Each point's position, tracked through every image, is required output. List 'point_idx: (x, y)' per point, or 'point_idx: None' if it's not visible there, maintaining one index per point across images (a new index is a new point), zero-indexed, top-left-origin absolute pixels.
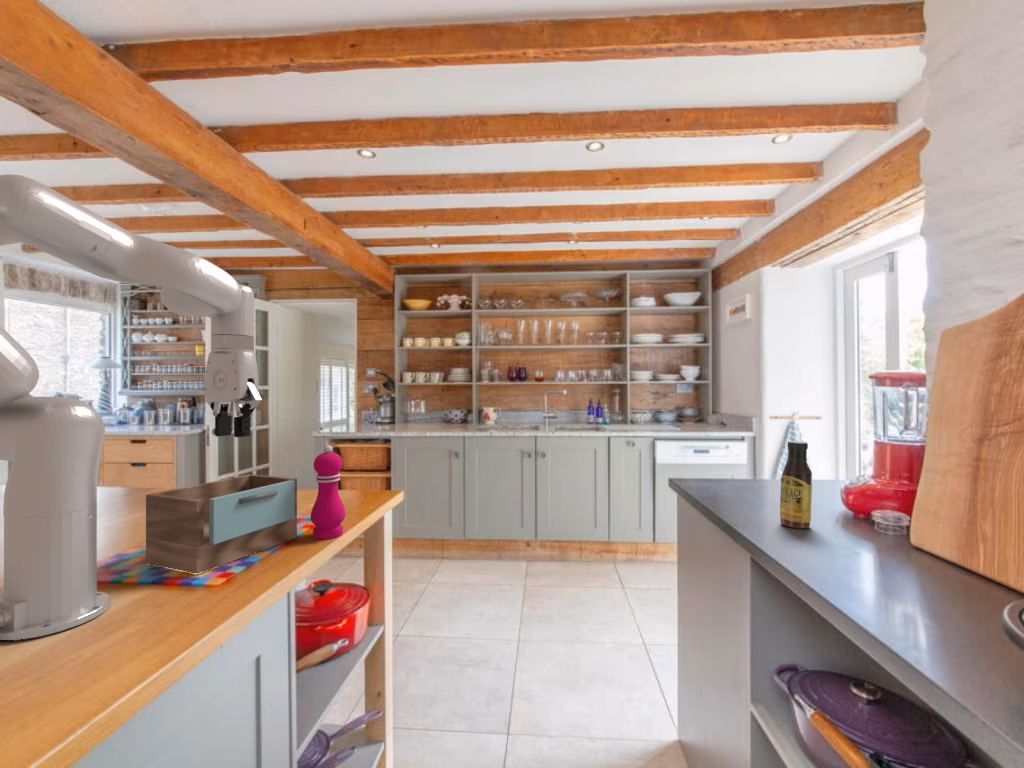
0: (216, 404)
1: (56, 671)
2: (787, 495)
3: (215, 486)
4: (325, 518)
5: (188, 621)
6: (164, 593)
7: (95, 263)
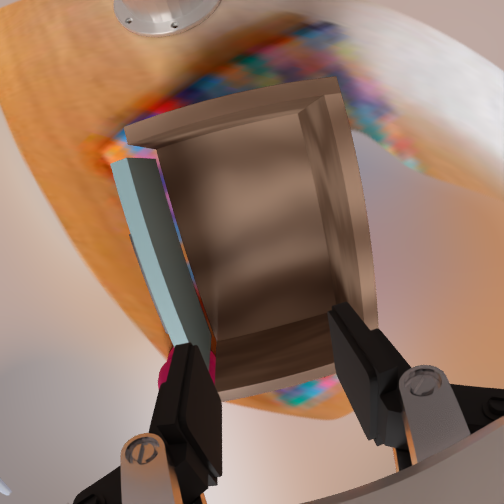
0: (443, 443)
1: (44, 10)
2: None
3: (352, 257)
4: (163, 368)
5: (34, 100)
6: (132, 90)
7: None
